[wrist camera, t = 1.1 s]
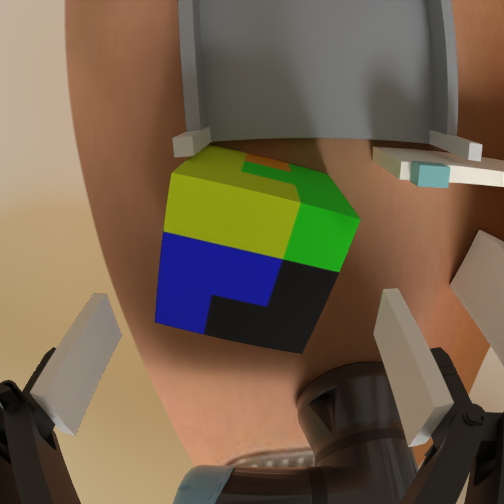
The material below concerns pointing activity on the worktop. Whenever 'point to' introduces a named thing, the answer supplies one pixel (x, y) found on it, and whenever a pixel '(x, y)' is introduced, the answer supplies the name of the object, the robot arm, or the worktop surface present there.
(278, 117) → the grey tray
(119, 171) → the worktop surface
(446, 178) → the cover panel
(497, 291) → the milk carton
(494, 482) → the robot arm
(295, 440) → the worktop surface
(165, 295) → the puzzle toy
